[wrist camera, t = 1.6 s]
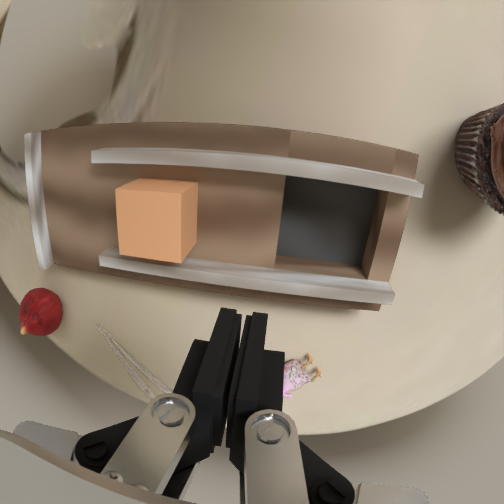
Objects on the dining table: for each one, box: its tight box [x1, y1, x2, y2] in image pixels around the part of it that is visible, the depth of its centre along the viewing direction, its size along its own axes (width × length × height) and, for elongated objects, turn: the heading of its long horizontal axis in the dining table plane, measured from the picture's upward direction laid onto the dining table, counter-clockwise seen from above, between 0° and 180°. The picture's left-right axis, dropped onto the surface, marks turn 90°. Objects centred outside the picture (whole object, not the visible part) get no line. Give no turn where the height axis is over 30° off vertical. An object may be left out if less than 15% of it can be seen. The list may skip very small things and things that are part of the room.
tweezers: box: [96, 324, 173, 399], centre depth 36 cm, size 17×5×2 cm, turn 31°
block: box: [115, 178, 198, 263], centre depth 22 cm, size 5×5×4 cm
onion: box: [19, 288, 63, 336], centre depth 30 cm, size 6×6×8 cm
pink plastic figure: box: [283, 353, 321, 398], centre depth 32 cm, size 6×6×15 cm
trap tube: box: [24, 122, 425, 311], centre depth 24 cm, size 14×34×5 cm, turn 85°
